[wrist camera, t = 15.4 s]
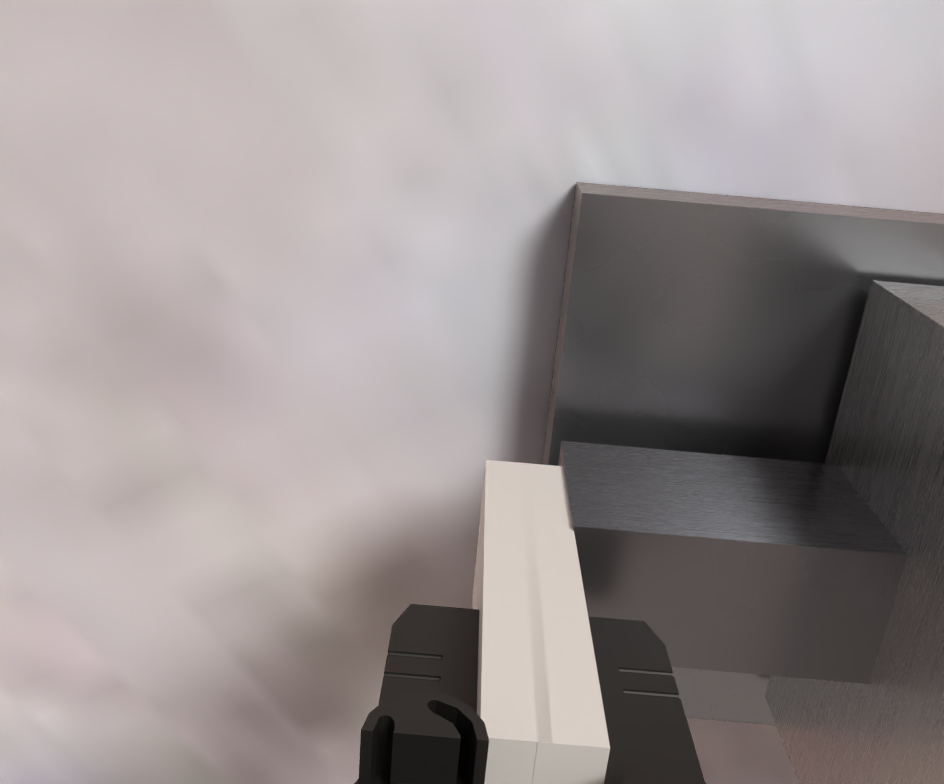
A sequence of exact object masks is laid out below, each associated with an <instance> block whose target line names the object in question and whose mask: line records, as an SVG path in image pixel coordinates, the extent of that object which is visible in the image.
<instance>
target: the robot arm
mask: <svg viewBox="0 0 944 784" xmlns="http://www.w3.org/2000/svg"><path fill="white" fill-rule="evenodd" d="M354 784H706V783H705V781H704V778H703V775H702V771H701V768H700V764H699V761H698V757H697V754H696V750H695V747H694V744H693V740H692V737H691V733H690V730H689V726H688V723H687V719H686V716H685V712H684V709H683V705H682V702H681V699H679V691H678V688H677V684H676V681H675V677H673V670H672V667H671V664H670V660H669V657H668V653H667V650H666V646H665V644H664V643H663V642H662V641H661V640H660V639H659V637H658V636H657V635H656V634H655V633H654V632H653V630H652V629H651V628H650V627H649V626H648V625H647V624H646V622H645V621H638V620H625V619H613V618H601V617H589V616H588V612H587V606H586V600H585V594H584V588H583V582H582V576H581V570H580V564H579V558H578V552H577V546H576V540H575V534H574V531H573V528H572V521H571V514H570V507H569V500H568V493H567V487H566V481H565V475H564V469H563V466H553V465H541V464H529V463H519V462H507V461H495V460H486V463H485V473H484V483H483V494H482V504H481V514H480V524H479V535H478V545H477V555H476V565H475V576H474V586H473V603H472V609H465V608H453V607H441V606H429V605H416V604H410V606H409V607H408V608H407V609H406V610H405V611H404V612H403V614H402V615H401V616H400V617H399V618H398V619H397V620H396V622H395V623H394V624H393V626H392V631H391V637H390V643H389V648H388V656H387V660H386V666H385V671H384V677H383V683H382V688H381V694H380V700H379V706H377V707H376V708H375V709H374V710H372V711H371V712H370V713H369V715H368V717H367V719H366V721H365V723H364V725H363V727H362V729H361V744H360V766H359V779H358V780H357V781H356V783H354Z"/></svg>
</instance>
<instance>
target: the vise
mask: <svg viewBox="0 0 944 784" xmlns="http://www.w3.org/2000/svg"><path fill="white" fill-rule="evenodd" d="M872 280H877V281H888V282H900V283H911V284H923V285H934V286H944V214H937V213H925V212H914V211H902V210H891V209H879V208H868V207H856V206H845V205H833V204H821V203H810V202H798V201H787V200H775V199H764V198H752V197H741V196H729V195H718V194H706V193H695V192H683V191H671V190H660V189H648V188H637V187H625V186H614V185H602V184H591V183H579V182H577V183H576V191H575V199H574V207H573V215H572V223H571V232H570V240H569V248H568V256H567V264H566V272H565V280H564V288H563V297H562V305H561V313H560V321H559V329H558V337H557V345H556V354H555V362H554V370H553V378H552V386H551V394H550V402H549V410H548V419H547V427H546V435H545V443H544V451H543V459H542V465H553V466H558V461H559V454H560V446H561V441H570V442H582V443H593V444H605V445H616V446H628V447H639V448H651V449H662V450H674V451H685V452H697V453H709V454H720V455H732V456H743V457H755V458H766V459H778V460H789V461H801V462H812V463H824V464H825V460H826V456H827V453H828V449H829V445H830V441H831V437H832V433H833V429H834V425H835V422H836V418H837V414H838V410H839V406H840V402H841V398H842V394H843V391H844V387H845V383H846V379H847V375H848V371H849V367H850V363H851V360H852V356H853V352H854V348H855V344H856V340H857V336H858V332H859V329H860V325H861V321H862V317H863V313H864V309H865V305H866V301H867V298H868V294H869V290H870V286H871V282H872ZM672 670H673V677H675V681H676V684H677V688H678V691H679V699H681V702H682V705H683V709H684V712H685V716H686V717H689V718H701V719H712V720H724V721H735V722H747V723H758V724H770V725H776V723H775V721H774V718H773V716H772V713H771V711H770V708H769V706H768V703H767V701H766V698H765V693H766V689H767V685H768V681H769V677H770V676H769V675H758V674H746V673H735V672H723V671H712V670H700V669H689V668H678V667H672Z"/></svg>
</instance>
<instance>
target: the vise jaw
mask: <svg viewBox="0 0 944 784" xmlns="http://www.w3.org/2000/svg"><path fill="white" fill-rule="evenodd" d="M558 466H563V469H564V475H565V481H566V487H567V493H568V500H569V507H570V514H571V521H572V528H573V531H574V534H575V540H576V546H577V552H578V558H579V564H580V570H581V576H582V582H583V588H584V594H585V600H586V606H587V612H588V616H589V617H601V618H613V619H625V620H638V621H645V622H646V624H647V625H648V626H649V627H650V628H651V629H652V630H653V632H654V633H655V634H656V635H657V636H658V637H659V639H660V640H661V641H662V642H663V643H664V644H665V646H666V650H667V653H668V657H669V660H670V664H671V667H678V668H689V669H700V670H712V671H723V672H735V673H746V674H758V675H769V676H770V677H769V681H768V685H767V689H766V693H765V698H766V701H767V703H768V706H769V708H770V711H771V713H772V716H773V718H774V721H775V723H776V726H777V728H778V731H779V733H780V736H781V738H782V741H783V743H784V746H785V748H786V751H787V753H788V756H789V758H790V761H791V763H792V766H793V768H794V771H795V773H796V776H797V778H798V781H799V784H944V286H934V285H923V284H911V283H900V282H888V281H877V280H872V282H871V286H870V290H869V294H868V298H867V301H866V305H865V309H864V313H863V317H862V321H861V325H860V329H859V332H858V336H857V340H856V344H855V348H854V352H853V356H852V360H851V363H850V367H849V371H848V375H847V379H846V383H845V387H844V391H843V394H842V398H841V402H840V406H839V410H838V414H837V418H836V422H835V425H834V429H833V433H832V437H831V441H830V445H829V449H828V453H827V456H826V460H825V464H824V463H812V462H801V461H789V460H778V459H766V458H755V457H743V456H732V455H720V454H709V453H697V452H685V451H674V450H662V449H651V448H639V447H628V446H616V445H605V444H593V443H582V442H570V441H561V446H560V454H559V461H558Z"/></svg>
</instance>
